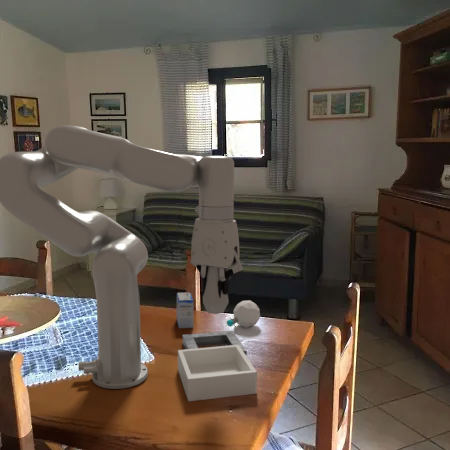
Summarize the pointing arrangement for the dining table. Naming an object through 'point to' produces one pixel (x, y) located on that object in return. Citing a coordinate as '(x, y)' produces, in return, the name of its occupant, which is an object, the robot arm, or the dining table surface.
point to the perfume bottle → (245, 314)
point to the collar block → (211, 339)
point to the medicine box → (185, 310)
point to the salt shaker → (214, 293)
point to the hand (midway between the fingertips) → (215, 294)
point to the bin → (216, 372)
